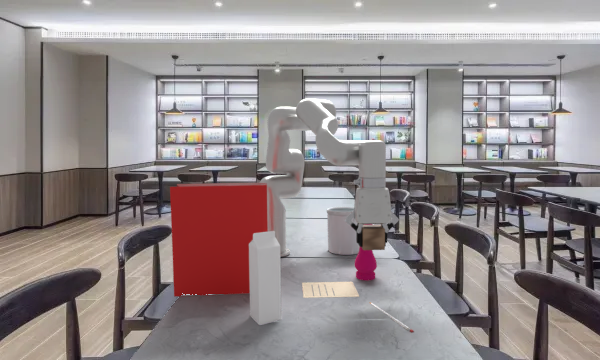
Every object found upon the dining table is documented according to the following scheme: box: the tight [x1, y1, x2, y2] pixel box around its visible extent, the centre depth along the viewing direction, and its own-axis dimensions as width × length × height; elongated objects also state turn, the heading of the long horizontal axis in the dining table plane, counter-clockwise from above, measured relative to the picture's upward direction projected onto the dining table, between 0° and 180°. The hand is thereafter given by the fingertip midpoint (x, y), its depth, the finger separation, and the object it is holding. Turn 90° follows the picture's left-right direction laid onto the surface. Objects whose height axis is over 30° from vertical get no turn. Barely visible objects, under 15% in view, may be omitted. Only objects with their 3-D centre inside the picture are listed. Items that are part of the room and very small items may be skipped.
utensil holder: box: [326, 206, 360, 256], centre depth 155 cm, size 15×15×18 cm
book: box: [169, 182, 268, 297], centre depth 113 cm, size 27×8×32 cm, turn 95°
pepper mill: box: [354, 224, 378, 282], centre depth 122 cm, size 7×7×20 cm
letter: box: [301, 281, 360, 299], centre depth 113 cm, size 16×12×1 cm
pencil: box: [369, 302, 415, 333], centre depth 95 cm, size 1×19×1 cm, turn 23°
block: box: [361, 224, 386, 251], centre depth 109 cm, size 6×6×6 cm
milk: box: [249, 231, 282, 326], centre depth 94 cm, size 6×6×22 cm
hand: (371, 244), depth 109 cm, fingers closed on block, 6 cm apart
